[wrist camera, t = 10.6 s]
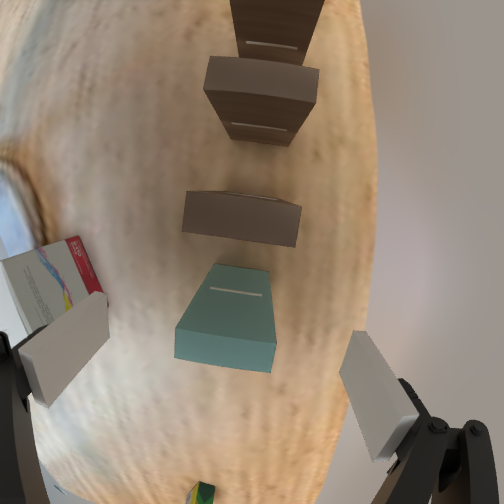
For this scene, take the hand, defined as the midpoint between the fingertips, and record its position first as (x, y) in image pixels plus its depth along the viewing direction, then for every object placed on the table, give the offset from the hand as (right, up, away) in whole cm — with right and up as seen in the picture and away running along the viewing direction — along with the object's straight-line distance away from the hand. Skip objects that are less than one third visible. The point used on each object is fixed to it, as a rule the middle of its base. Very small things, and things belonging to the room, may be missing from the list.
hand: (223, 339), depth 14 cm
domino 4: (0, +2, +12) cm, 13 cm away
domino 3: (+1, +8, +11) cm, 14 cm away
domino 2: (+2, +15, +10) cm, 18 cm away
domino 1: (+3, +21, +8) cm, 23 cm away
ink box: (-19, +1, +13) cm, 23 cm away
